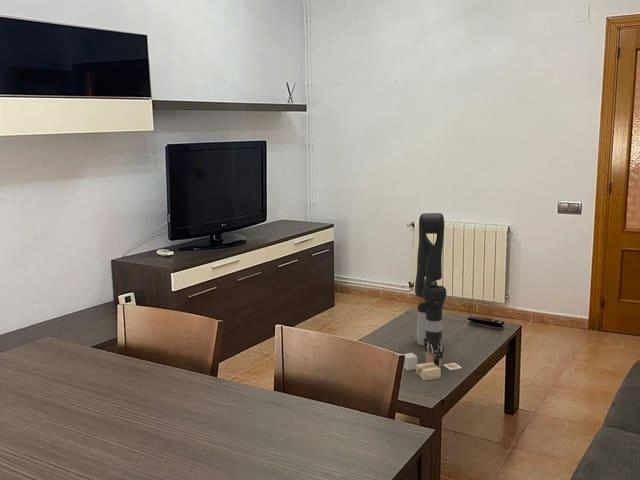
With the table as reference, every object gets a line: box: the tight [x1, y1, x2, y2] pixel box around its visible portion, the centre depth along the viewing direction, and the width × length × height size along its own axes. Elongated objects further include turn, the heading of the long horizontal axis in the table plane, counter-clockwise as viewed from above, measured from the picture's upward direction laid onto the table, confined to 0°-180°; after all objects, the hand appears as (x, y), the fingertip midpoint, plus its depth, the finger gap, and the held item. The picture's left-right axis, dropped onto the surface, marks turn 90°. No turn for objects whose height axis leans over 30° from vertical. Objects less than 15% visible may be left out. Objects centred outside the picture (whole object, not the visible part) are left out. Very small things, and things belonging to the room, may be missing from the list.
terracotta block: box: [425, 351, 442, 368], centre depth 283 cm, size 5×5×6 cm
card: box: [442, 362, 462, 371], centre depth 282 cm, size 6×6×1 cm
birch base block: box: [415, 362, 442, 381], centre depth 273 cm, size 8×8×4 cm
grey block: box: [403, 352, 419, 372], centre depth 281 cm, size 5×5×6 cm
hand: (433, 363), depth 284 cm, fingers closed on terracotta block, 5 cm apart
